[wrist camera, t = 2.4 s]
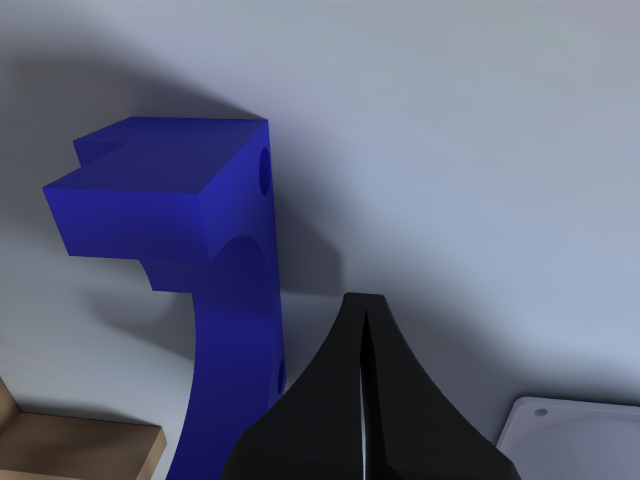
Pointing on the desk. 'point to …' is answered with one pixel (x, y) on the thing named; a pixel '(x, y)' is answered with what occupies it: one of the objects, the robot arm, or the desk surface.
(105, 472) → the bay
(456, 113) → the desk surface
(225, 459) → the blue curved bracket
